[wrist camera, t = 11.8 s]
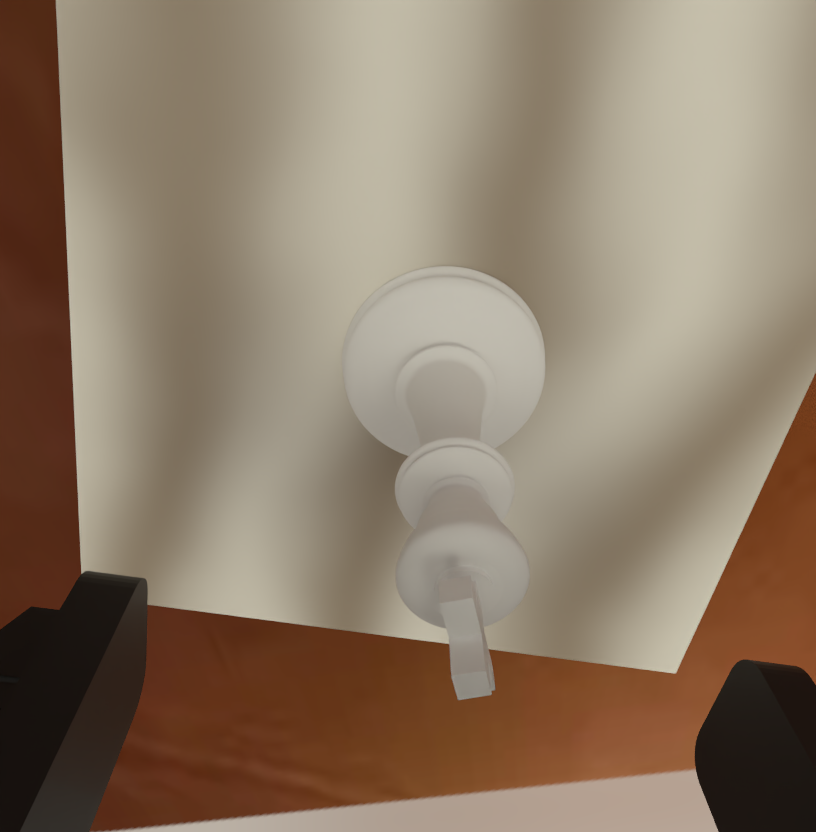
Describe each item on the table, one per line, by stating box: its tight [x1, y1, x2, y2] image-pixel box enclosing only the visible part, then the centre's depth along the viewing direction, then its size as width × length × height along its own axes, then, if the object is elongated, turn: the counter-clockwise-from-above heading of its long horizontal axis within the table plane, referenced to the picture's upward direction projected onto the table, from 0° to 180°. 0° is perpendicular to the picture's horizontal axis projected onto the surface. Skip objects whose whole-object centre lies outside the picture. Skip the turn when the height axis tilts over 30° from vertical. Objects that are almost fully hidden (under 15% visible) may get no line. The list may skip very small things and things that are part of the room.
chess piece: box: [342, 266, 545, 700], centre depth 14 cm, size 5×5×10 cm
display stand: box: [56, 0, 816, 673], centre depth 20 cm, size 18×18×5 cm
